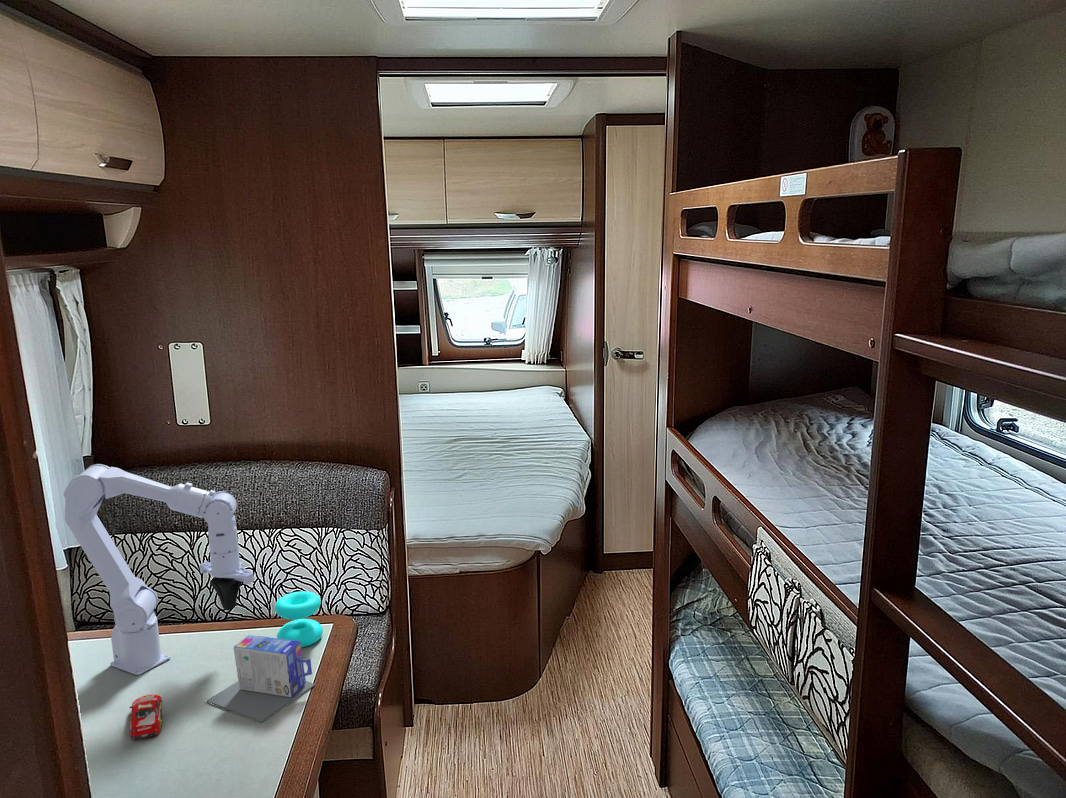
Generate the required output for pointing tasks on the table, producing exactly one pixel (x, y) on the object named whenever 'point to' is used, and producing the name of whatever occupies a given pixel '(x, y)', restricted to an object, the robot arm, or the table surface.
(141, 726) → the race car
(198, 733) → the table surface
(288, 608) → the donuts
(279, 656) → the ink cartridge box
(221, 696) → the mat
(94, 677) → the table surface
